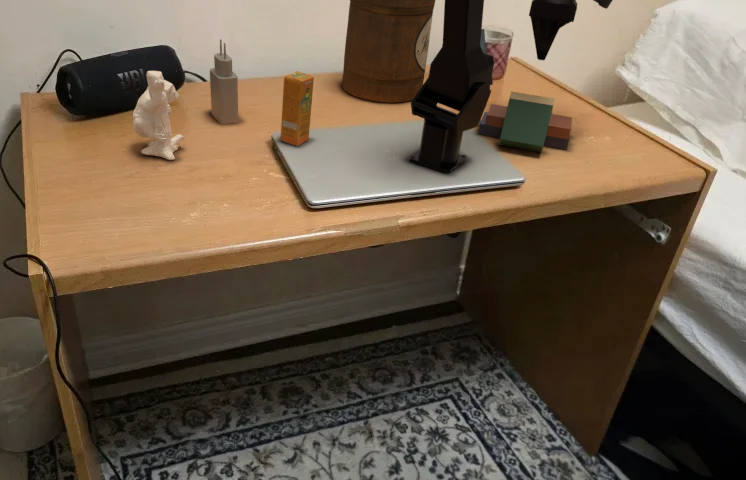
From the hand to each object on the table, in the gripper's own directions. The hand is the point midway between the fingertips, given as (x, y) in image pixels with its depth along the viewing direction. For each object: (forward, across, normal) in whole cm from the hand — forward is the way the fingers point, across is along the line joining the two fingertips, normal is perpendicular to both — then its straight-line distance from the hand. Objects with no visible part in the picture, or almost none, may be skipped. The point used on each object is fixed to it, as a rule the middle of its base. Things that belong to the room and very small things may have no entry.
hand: (542, 55), depth 104 cm
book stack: (+12, -4, 0) cm, 13 cm away
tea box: (+12, -10, 0) cm, 15 cm away
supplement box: (+12, -22, +32) cm, 41 cm away
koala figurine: (+12, -35, +48) cm, 61 cm away
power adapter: (+12, -19, +46) cm, 51 cm away
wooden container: (+12, +7, +27) cm, 30 cm away
